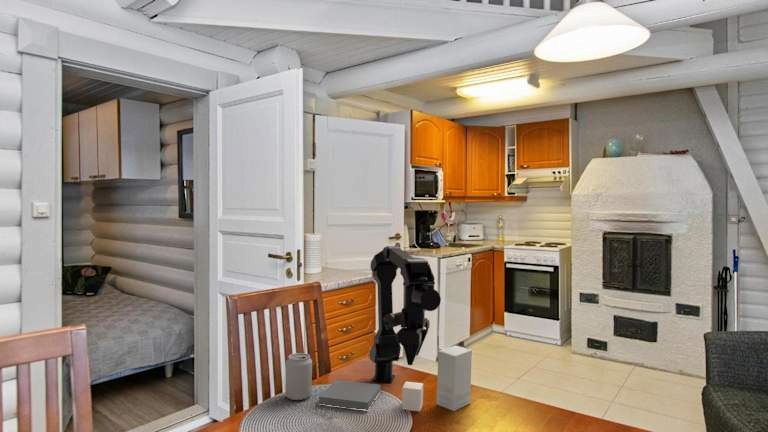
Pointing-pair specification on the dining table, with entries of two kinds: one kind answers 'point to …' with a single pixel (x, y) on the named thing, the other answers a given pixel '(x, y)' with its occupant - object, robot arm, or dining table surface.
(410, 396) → the block
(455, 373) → the skincare box
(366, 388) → the base board
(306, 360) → the can
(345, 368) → the dining table surface
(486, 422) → the dining table surface
